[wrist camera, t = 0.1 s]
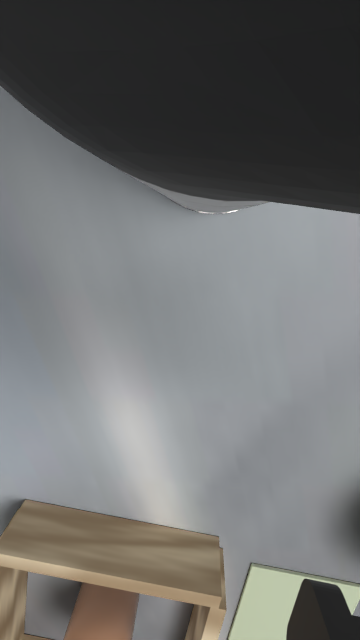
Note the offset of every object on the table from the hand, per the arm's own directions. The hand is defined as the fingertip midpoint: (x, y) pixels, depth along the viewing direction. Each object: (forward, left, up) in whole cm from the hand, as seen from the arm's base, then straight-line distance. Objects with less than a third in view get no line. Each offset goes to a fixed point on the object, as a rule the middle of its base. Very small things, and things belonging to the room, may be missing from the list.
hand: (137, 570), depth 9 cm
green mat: (+27, +15, -17) cm, 35 cm away
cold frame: (+27, -2, -17) cm, 32 cm away
